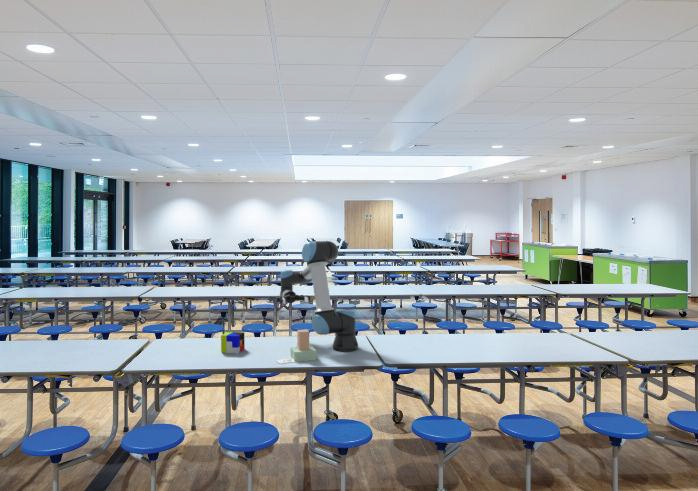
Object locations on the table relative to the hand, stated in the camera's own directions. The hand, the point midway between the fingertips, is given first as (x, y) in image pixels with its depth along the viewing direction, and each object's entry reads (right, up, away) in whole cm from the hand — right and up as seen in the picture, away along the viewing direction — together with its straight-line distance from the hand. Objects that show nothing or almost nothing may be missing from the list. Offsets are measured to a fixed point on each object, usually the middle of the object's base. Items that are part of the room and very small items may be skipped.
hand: (296, 301), depth 300 cm
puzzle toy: (-37, -29, -1) cm, 47 cm away
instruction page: (-3, -30, -24) cm, 38 cm away
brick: (+6, -25, -17) cm, 30 cm away
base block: (+6, -30, -17) cm, 34 cm away
